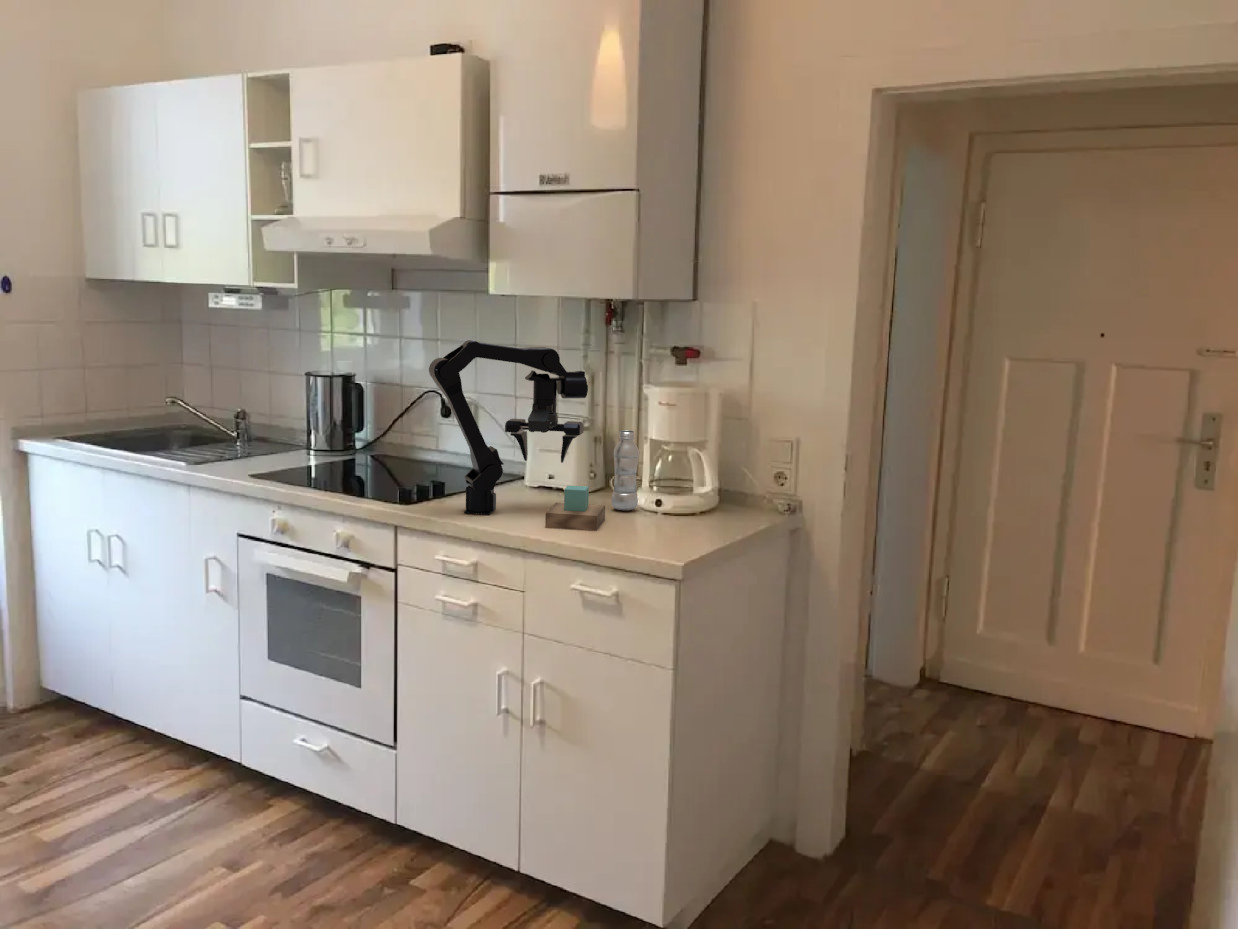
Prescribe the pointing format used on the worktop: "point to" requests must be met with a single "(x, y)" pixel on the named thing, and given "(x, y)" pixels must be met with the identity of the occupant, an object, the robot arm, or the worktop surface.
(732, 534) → the worktop surface
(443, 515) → the worktop surface
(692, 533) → the worktop surface
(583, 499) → the teal cube
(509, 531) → the worktop surface
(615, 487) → the plastic bottle
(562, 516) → the walnut box
